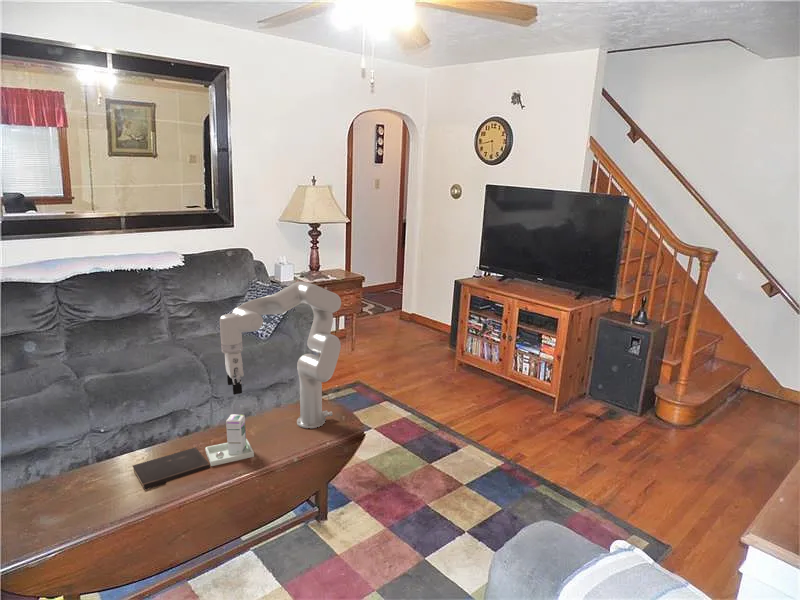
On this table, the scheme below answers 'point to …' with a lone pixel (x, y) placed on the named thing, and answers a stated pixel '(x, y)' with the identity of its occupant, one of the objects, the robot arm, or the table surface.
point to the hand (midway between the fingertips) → (234, 388)
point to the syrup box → (236, 434)
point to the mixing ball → (219, 455)
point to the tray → (226, 454)
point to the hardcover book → (170, 467)
